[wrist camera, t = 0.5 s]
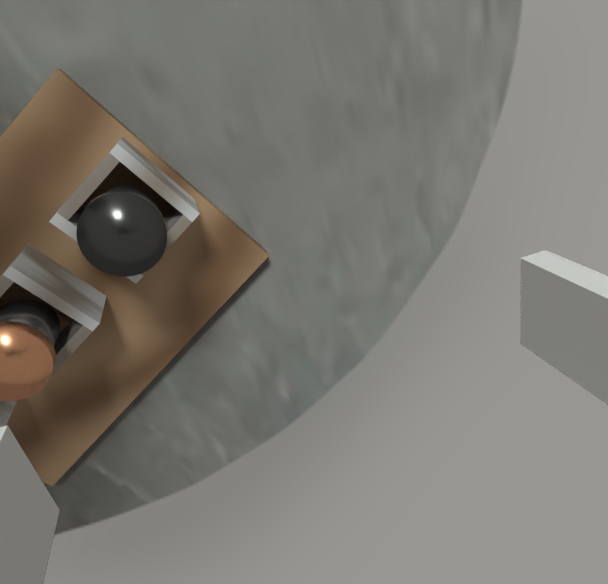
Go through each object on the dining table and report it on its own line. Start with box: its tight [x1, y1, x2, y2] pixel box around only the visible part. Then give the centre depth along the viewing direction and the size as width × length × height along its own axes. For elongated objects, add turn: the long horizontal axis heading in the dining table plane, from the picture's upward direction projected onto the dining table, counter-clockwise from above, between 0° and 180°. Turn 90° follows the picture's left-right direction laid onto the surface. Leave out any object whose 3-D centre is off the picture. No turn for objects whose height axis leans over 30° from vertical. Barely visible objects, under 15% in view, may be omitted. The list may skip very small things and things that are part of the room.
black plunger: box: [76, 185, 167, 277], centre depth 27 cm, size 4×4×5 cm
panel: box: [0, 69, 269, 486], centre depth 32 cm, size 18×26×6 cm
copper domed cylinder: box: [0, 299, 60, 401], centre depth 28 cm, size 4×4×5 cm
